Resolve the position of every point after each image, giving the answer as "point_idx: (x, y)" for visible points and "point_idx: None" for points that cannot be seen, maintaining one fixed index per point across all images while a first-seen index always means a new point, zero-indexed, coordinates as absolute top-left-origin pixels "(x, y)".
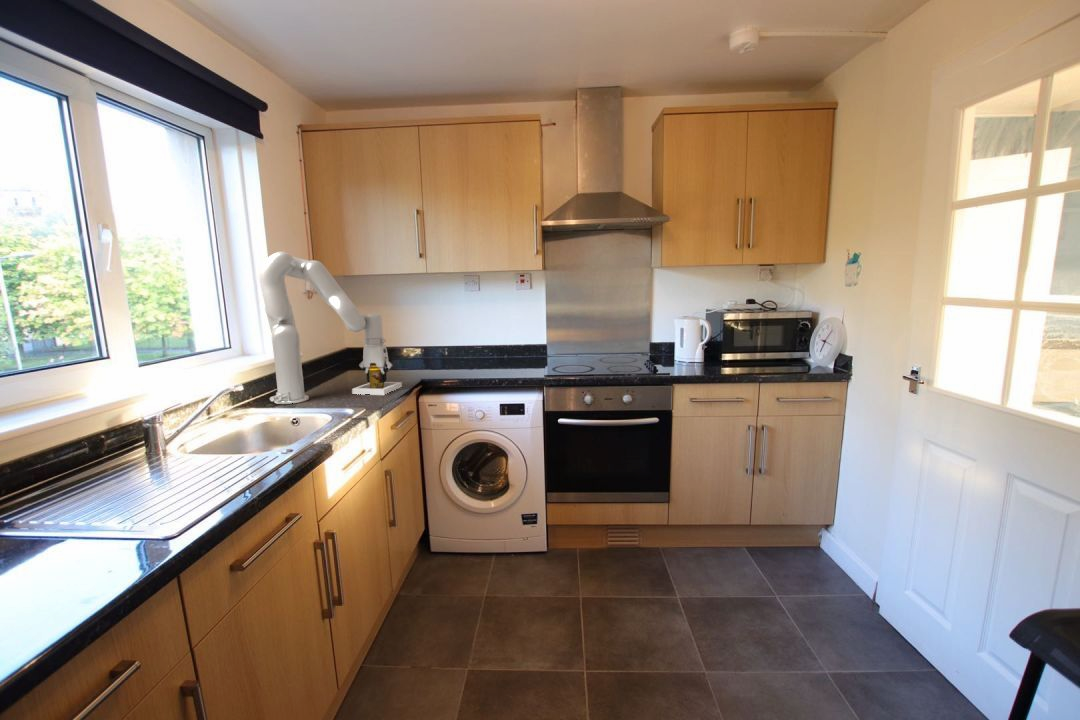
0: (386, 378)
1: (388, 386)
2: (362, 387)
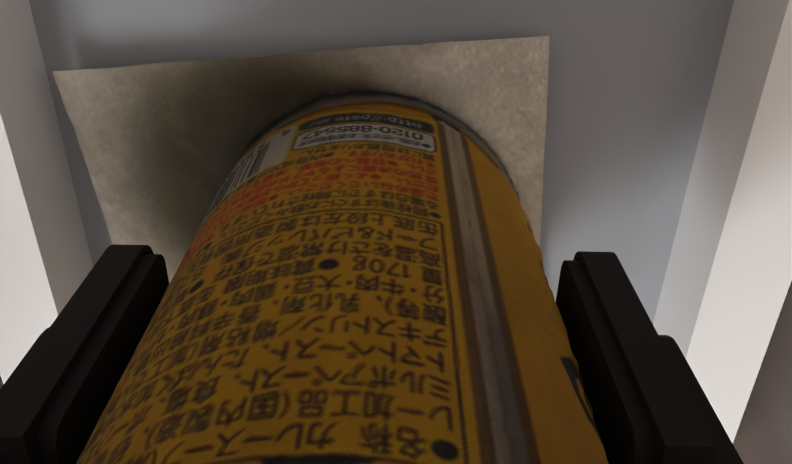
0: (679, 357)
1: (700, 348)
2: None
